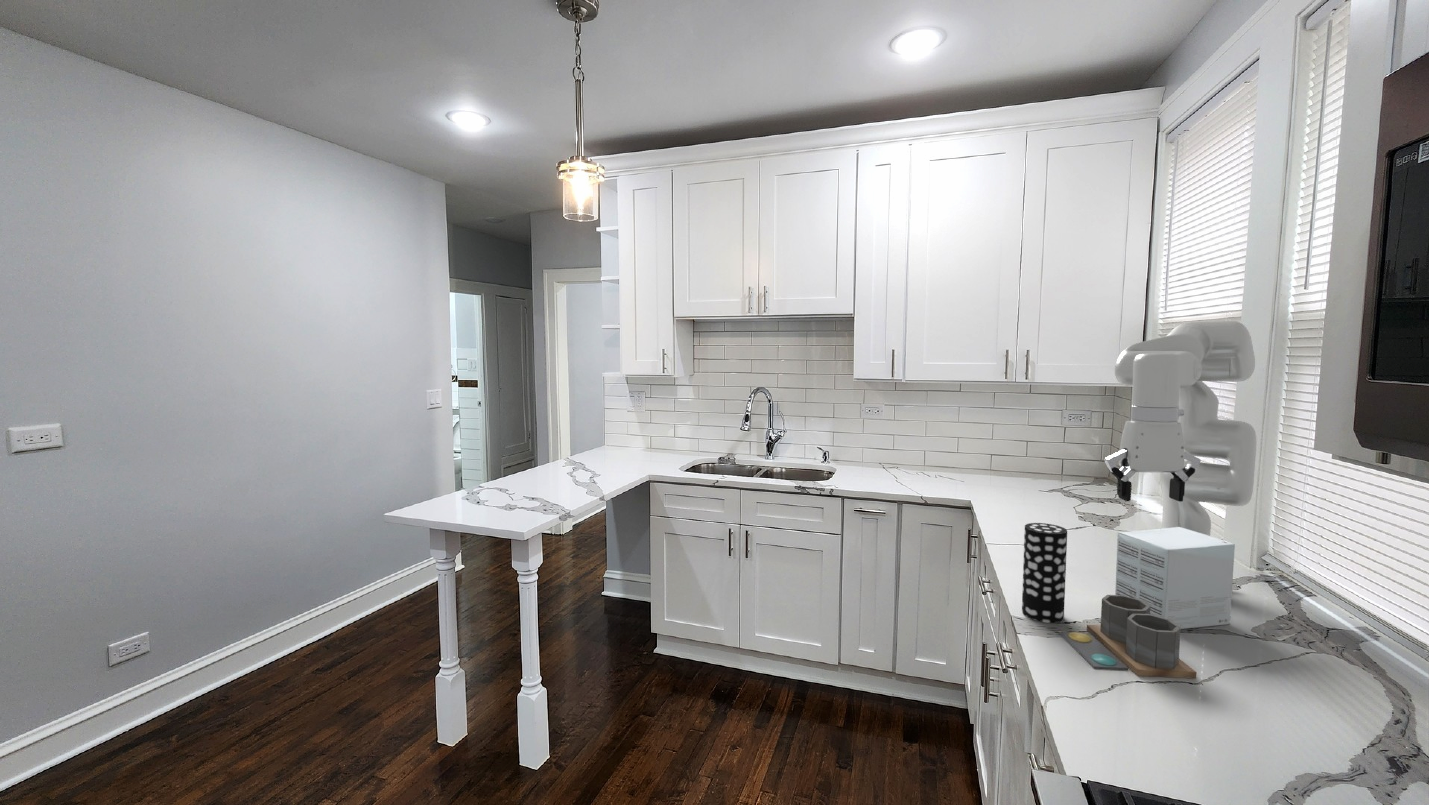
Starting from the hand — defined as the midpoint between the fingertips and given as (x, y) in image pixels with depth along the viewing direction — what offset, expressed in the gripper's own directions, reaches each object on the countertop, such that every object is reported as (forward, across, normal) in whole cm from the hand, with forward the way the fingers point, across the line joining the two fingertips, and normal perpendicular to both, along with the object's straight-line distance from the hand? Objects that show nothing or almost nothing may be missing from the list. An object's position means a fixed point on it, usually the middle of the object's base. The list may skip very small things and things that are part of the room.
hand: (1150, 499), depth 119 cm
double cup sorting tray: (+29, +4, +6) cm, 30 cm away
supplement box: (+30, -13, -12) cm, 35 cm away
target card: (+29, +13, +6) cm, 32 cm away
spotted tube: (+30, +15, -10) cm, 35 cm away
